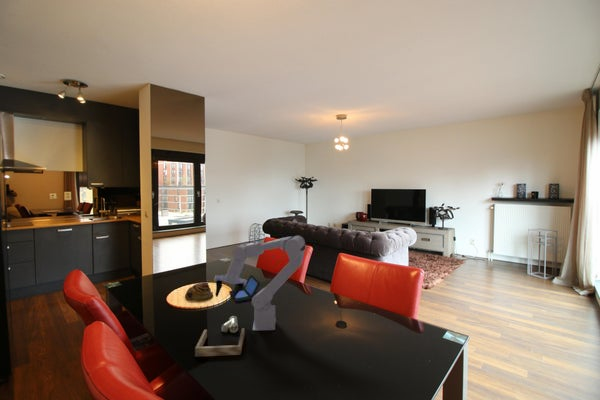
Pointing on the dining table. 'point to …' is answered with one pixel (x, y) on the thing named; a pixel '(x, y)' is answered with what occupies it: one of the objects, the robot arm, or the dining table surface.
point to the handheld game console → (247, 290)
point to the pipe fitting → (230, 325)
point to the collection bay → (218, 347)
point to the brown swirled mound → (199, 292)
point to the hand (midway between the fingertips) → (224, 296)
